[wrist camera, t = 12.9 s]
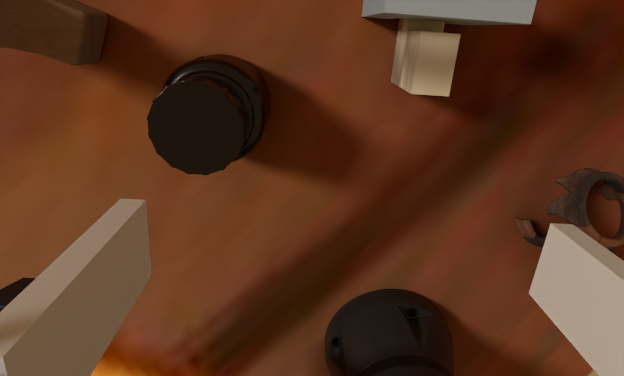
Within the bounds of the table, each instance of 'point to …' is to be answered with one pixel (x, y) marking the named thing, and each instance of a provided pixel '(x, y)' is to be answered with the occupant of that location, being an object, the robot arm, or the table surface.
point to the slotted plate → (454, 11)
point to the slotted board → (424, 57)
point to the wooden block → (53, 29)
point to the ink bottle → (209, 114)
